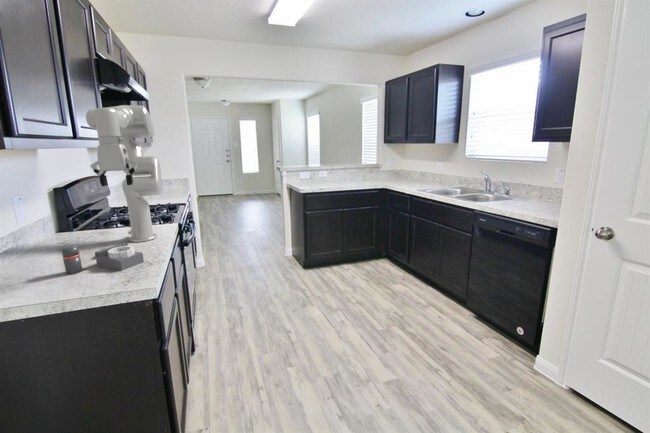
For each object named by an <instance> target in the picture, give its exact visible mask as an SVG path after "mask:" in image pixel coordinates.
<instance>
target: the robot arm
mask: <svg viewBox="0 0 650 433" xmlns="http://www.w3.org/2000/svg"><path fill="white" fill-rule="evenodd" d="M85 121H86V123H87V125H88V126H89V128H91V129H93V130H96V132H97V137H98V144H99V145H97V161H95V162H93V163H92V164H90V168H91V169H92V171H93V172H94V174H96V175H97V176H98V177H99V183H100V186H101V187H106V186H108V184H109V183H108V179H107V175H106V173H107V172H117V171H123V172H124V173H125V174H126V175H125V179H123V181H122V183H121V186H122V191H123V194H124V198H125V199H126V200H125V201H126V205H127V211H128V218H129V222H130V223H129V224H130V225H129V226H130V230H129V231H128V232H127V234H128V235H130V237H129V242H133V243H141V242H147V241H153V240H155V239H156V238H157V237H158V235H157V233H155V232H154V229H153V223H152V217H151V216H152V215H151V210H150V204H149V202H148V200H146V199H145V198H144V197H145V196H146V197H147V196H158V195H160V194H161V193H162V192H163V182H162V166H161V163H160V160H159V158H158V157H156V156H148V155H147V156H146V155H145V156H144V149H143V147H142V146H141V144H139V142H137V141H136V140H134V139H149V138H153V137H154V135H155V127H154V124H153V121H152V118H151V115H150V113H149V111H148V109H147V108H146V107H145V106H144V105H141V104H139V105H135V104H132V105H131V104H129V105H128V104H123V105H122V104H121V105H117V106H108V107H97V108H90V109H88V110H87V111H86V114H85Z"/></svg>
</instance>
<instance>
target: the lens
mask: <svg viewBox="0 0 650 433" xmlns="http://www.w3.org/2000/svg"><path fill="white" fill-rule="evenodd" d="M60 251H61V255H62V261H63V264H64V265H63V266H64V270H65V273H66V275H68V276H69V275H70V276H71V275H76V274H79V273H81V272H83V271H84V269H83V266H82V260H81V256H80V251H79V246H78V245H76V244H75V245H67V246H63V247H61V248H60Z"/></svg>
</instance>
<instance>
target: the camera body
mask: <svg viewBox="0 0 650 433" xmlns="http://www.w3.org/2000/svg"><path fill="white" fill-rule="evenodd" d="M105 248H106V249H103V250H101V249H99V250H98V251H95V252H94V255H95V261H96V266H97V267H99V268H105V269H111V270H116V271H124V270H127V269H129V268H132V267H134V266H136V265H139V264H141V263H144V262H145V259H144V255H143V252H142V251H140V252H139V251H136V250H135V247H134V245H128V246H122V245H121V244H116V245H112V246H110V247H105Z"/></svg>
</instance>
